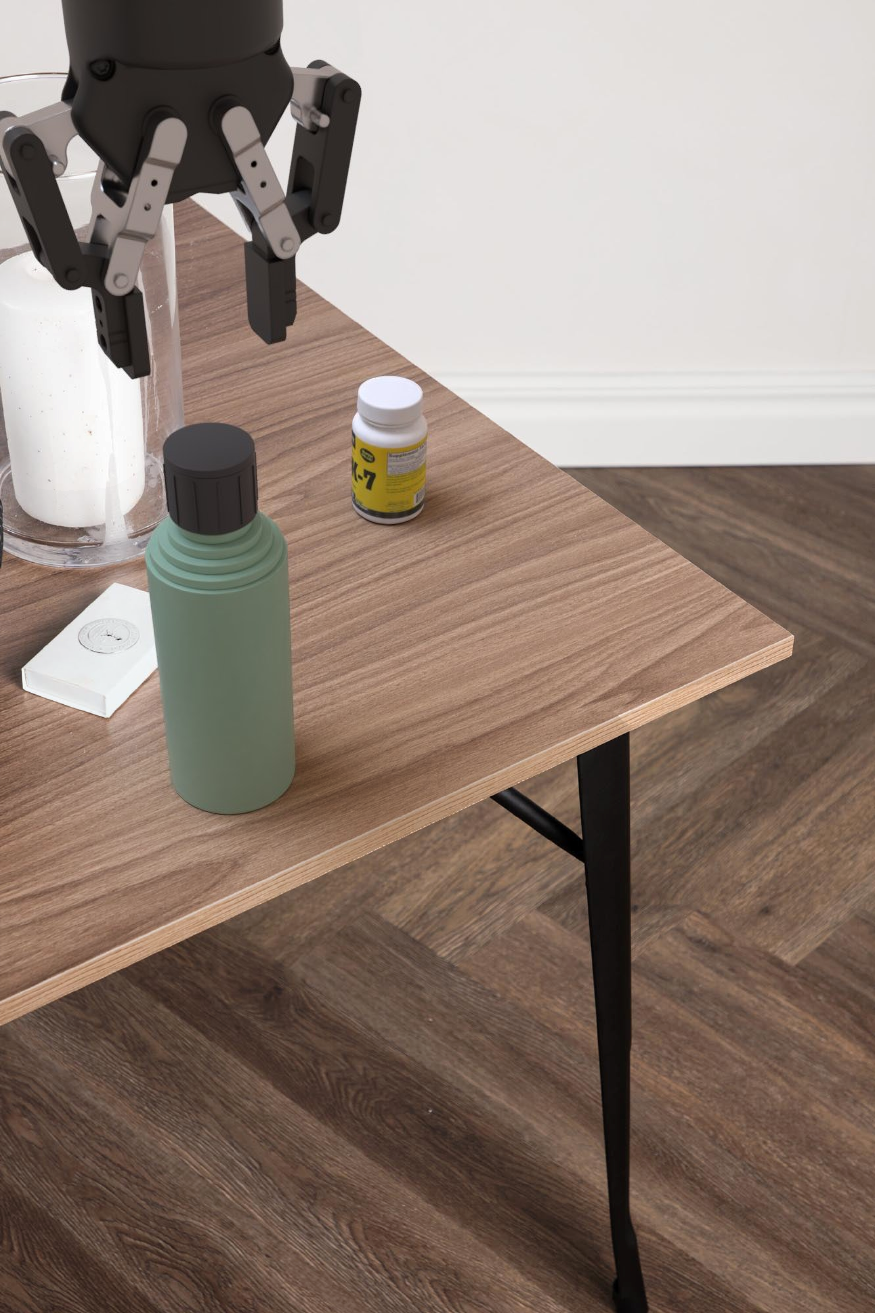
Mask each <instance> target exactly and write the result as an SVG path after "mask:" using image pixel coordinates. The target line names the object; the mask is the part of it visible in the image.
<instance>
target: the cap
mask: <svg viewBox="0 0 875 1313" xmlns="http://www.w3.org/2000/svg"><path fill="white" fill-rule="evenodd" d="M255 444H256V443H255V441H254V438H253V437H252V436H251V434H250V433H248V431H246V430H245V429H244V428H243V429H242V428H240V427H238V426H236V425H233V424H229V423H224V422H223V423H222V422H213V421H212V422H211V421H210V422H209V421H207V422H199V423H193V424H189V425H186V426H183V427H181V428H179V429H176V430H175V431H174V432H172V433H170V434H169V435H168V436H167V437H166V438H165V440H164V442H163V444H162V457H163V463H162V470H163V480H164V481H163V482H164V491H165V500H166V510H167V513H168V516H169V515H170V518H171V519H172V521H173V522H174V523H175V524H176V525H177V526H179V527H180V528H182V529H184V530H186V531H188V532H192V533H196V534H202V535H220V534H226V533H230V532H234V531H237V530H239V529H241V528H243V527H245V526H246V525H248V524H249V523H250V522H251V521H252V520H253V519H254V518H255V516H256V514H257V511H258V510H259V484H258V482H259V481H258V467H257V466H258V463H257V452H256V445H255Z"/></svg>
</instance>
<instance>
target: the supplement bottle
mask: <svg viewBox="0 0 875 1313" xmlns="http://www.w3.org/2000/svg"><path fill="white" fill-rule="evenodd" d="M356 410H357V412H356V413H355V415H354V416H353V419H352V421H351V422H352V423H351V462H350V463H351V492H350V493H351V505H352V506H353V509H354V511H355V512H356V513H358V514H359V515H360V516H361V517H362V518H364V519H365V520H367V521H370V522H372V523H375V524H376V523H377V524H383V525H394V524H401V523H404V522H408V521H410V520H412V519H414V518H415V517H417V516H418V515H420V513H421V512H422V511H423V509H424V506H425V499H426V479H427V478H426V477H427V453H428V434H429V431H428V430H429V428H428V427H429V426H428V421H427V419H426V417H425V416H424V415H423V411H424V392H423V389H422V387H421V386H420V385H419V384H417V383H416V382H415V381H413V380H412V379H408V378H406V377H402V376H396V375H381V376H376V377H372V378H369V379H367V380H365V381H364V382H363V383H361V385H360V386H359V387H358V391H357V402H356Z"/></svg>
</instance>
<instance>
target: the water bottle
mask: <svg viewBox="0 0 875 1313" xmlns="http://www.w3.org/2000/svg"><path fill="white" fill-rule="evenodd" d="M144 561H145V568H146V570H145V571H146V578H147V586H148V594H149V596H148V597H149V603H150V604H149V605H150V612H151V620H152V630H153V637H154V646H155V653H156V664H157V672H158V681H159V690H160V697H161V706H162V714H163V715H162V716H163V721H164V722H163V723H164V732H165V740H166V749H167V757H168V766H169V775H170V780H171V784H172V786H173V788H174V790H175V792H176V793H177V794H178V795H179V796H180V798H181V799H182V800H184V801H185V802H187V803H188V804H189V805H191V806H193V807H195V808H196V809H199V810H201V811H205V812H208V813H212V814H218V815H219V814H220V815H239V814H246V813H250V812H254V811H257V810H259V809H262V808H265V807H267V806H268V805H270V804H272V803H273V802H276V800H278V799H279V798H280V797H281V796H283V794H284V793H286V791H287V790H288V789H289V787H290V786H291V784H292V782H293V781H294V777H295V774H296V745H295V719H294V718H295V717H294V715H295V714H294V712H295V711H294V688H293V686H294V685H293V684H294V683H293V660H292V656H293V655H292V632H291V631H292V630H291V605H290V604H291V603H290V576H289V575H290V574H289V549H288V543H287V540H286V538H285V535H284V534H283V533H282V531H281V530H280V527H279V526H278V524H277V523H276V522H275V521H274V520H272V519H271V518H270V516H268V515H266V514H264V513H263V512H261V510H259V509H258V511H257V514H256V516H255V518H254V519H253V520H252V521H251V522H250V523H249V524H248V525H246V526H245V527H243V528H241V529H239V530H237V531H234V532H230V533H226V534H220V535H202V534H196V533H192V532H188V531H186V530H184V529H182V528H180V527H179V526H177V525H176V524H175V523H174V522H173V521H172V519H171V518H170V515H169V514H168V516H167V517H166V518H165V519H164V520H162V521H161V522H160V523H159V524H158V525H157V526H156V527H155V528H154V529H153V531H152V532H151V535H150V537H149V540H148V541H147V544H146V546H145V550H144Z"/></svg>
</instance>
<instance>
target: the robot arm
mask: <svg viewBox="0 0 875 1313" xmlns="http://www.w3.org/2000/svg"><path fill="white" fill-rule="evenodd" d="M60 1H61V2H60V3H61V9H62V10H61V11H62V16H63V18H62V19H63V25H64V26H63V27H64V33H65V40H66V46H67V50H68V51H67V52H68V57H69V59H68V60H69V65H68V72H67V76H66V80H65V82H64V84H63V87H62V90H61V94H60V101H58V102H55V103H53V104H50V105H48V106H45V107H42V108H39V109H37V110H34V111H32V112H29V113H27V114H24V115H21V116H17V115H16V114H15V113H13V112H11V111H9V110H0V170H1V172H2V174H3V177H4V180H5V182H6V185H7V187H8V191H9V193H10V196H11V199H12V201H13V204H14V206H15V209H16V212H17V214H18V217H19V219H20V223H21V224H22V227H23V229H24V233H25V235H26V237H27V240H28V243H29V246H30V248H31V251H32V253H33V256H34V258H35V259H36V261H37V262H38V263H39V264H40V265H41V266H42V267H43V268H44V269H46V271H48V273H50V275H51V276H52V278H53V280H54V281H55V282H56V283H57V284H58V285H59V287H61V288H62V289H63V290H66V291H76V290H79V289H81V288H82V287H83V288H90V292H91V299H92V306H93V307H92V308H93V316H94V323H95V324H94V325H95V329H96V339H97V344H98V345H99V347H100V349H101V350H102V352H103V353H104V355H105V356H106V357H107V358H108V359H109V360H110V362H111V363H112V364H113V365H114V366H115V368H116V369H122V371H124V373H125V374H126V375H127V376H128V377H129V379H131V381H132V380H137V379H141V378H145V377H149V376H151V374H152V373H151V372H152V369H151V359H150V349H149V340H148V330H147V322H146V313H145V303H144V302H145V301H144V293H143V291H142V290H140V288H138V286H137V285H136V282H137V279H138V275H139V271H140V268H141V266H142V261H143V257H144V255H145V251H146V246H147V243H148V242H149V241H152V240H153V239H154V238H155V236H156V234H157V232H158V229H159V225H160V222H161V219H162V215H163V211H164V207H165V206H166V205H171V204H176V203H181V202H183V201H185V200H187V199H189V198H191V197H193V196H195V195H197V194H210V195H223V194H229V195H230V197H231V199H232V200H233V202H234V205H235V207H236V209H237V211H238V213H239V216H240V217H241V219H242V221H243V224H244V226H245V227H246V230H247V231H248V233H249V234H250V235H251V240H249V241H245V242H243V253H244V254H243V255H244V269H245V270H244V272H245V273H244V274H245V290H246V291H245V292H246V303H247V304H246V309H247V310H246V311H247V320H248V323H249V327H250V329H251V330H252V331H253V333H254V334H256V335H257V337H259V338H260V339H261V340H262V341H263V342H264V343H265V344H266V345H267V346H272V345H274V344H279V343H282V342H285V341H286V340H287V337H288V336H287V327H292V326H294V323H295V320H296V317H297V314H298V304H297V302H298V301H297V272H296V271H297V269H296V268H297V267H296V266H297V264H296V258H297V253H298V252H299V250H300V247H301V246H302V244H303V243H304V242H305V241H307V240H308V239H310V238H311V237H313V236H314V235H317V234H321V235H330V234H332V233H334V231H335V230H336V229H337V228H338V227H339V225H340V223H341V218H342V212H343V207H344V200H345V195H346V188H347V183H348V179H349V178H348V177H349V171H350V166H351V159H352V155H353V148H354V142H355V136H356V130H357V124H358V120H359V112H360V107H361V102H362V101H361V100H362V96H363V95H362V94H363V93H362V87H361V85H360V83H359V82H358V81H357V80H356V79H354V78H353V77H351V76H349V75H348V74H346V73H344V71H341V70H339V68H337V67H335V66H334V65H332V64H330V63H329V62H327V61H326V60H323V59H314V60H312V61H311V62H310V63H309V64H307V66H306V67H299V66H298V67H296V66H291V65H289V63H288V61H287V59H286V57H285V54H284V53H283V49H282V45H281V44H282V43H281V37H282V32H283V29H284V0H60ZM289 105H290V116H291V117H292V119H293V120H294V121H295V122H296V124H295V133H294V138H293V146H292V151H291V152H292V153H291V158H290V166H289V171H288V172H289V173H288V179H287V180H288V181H287V186H286V193H285V192H284V189H283V188H282V185H281V183H280V181H279V178H278V176H277V174H276V172H275V170H274V167H273V165H272V163H271V161H270V158H269V156H268V154H267V151H266V149H265V148H266V146H267V144H268V142H270V139H271V137H272V135H273V133H274V132H275V130H276V128H277V126H278V125H279V122H280V121H281V119H282V117H283V115H284V114H285V111H286V109H287V108H288V106H289ZM76 136H78V137H80V139H82V141H83V142H84V143H85V144H86V145H87V146H88V147H89V148H90V149H91V151H93V152H94V154H95V155H96V156H97V157H98V158H99V161H98V164H97V168H96V172H95V176H94V179H93V184H92V187H91V190H90V191H91V192H90V205H91V216H90V220H89V223H88V227H87V229H86V230H87V231H86V234H85V239H84V241H79V240H78V238H77V235H76V232H75V229H74V226H73V224H72V220H71V218H70V215H69V212H68V210H67V206H66V204H65V200H64V198H63V195H62V193H61V189H60V187H59V183H58V181H57V178H60V177H61V176H63V175H64V174H65V172H66V170H67V167H68V163H69V160H68V153H67V152H68V151H67V150H68V146H69V144H70V142H71V141H72V140H73V139H74V138H75V137H76Z"/></svg>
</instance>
